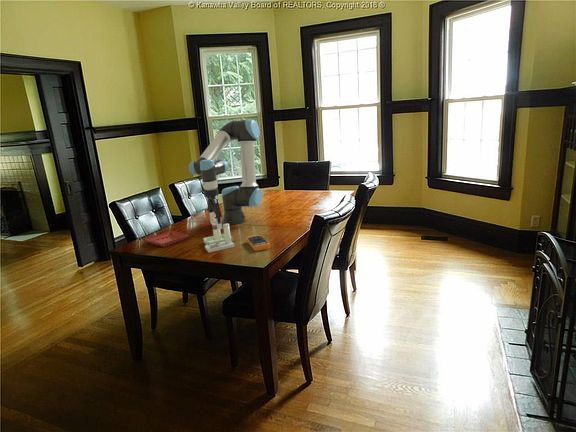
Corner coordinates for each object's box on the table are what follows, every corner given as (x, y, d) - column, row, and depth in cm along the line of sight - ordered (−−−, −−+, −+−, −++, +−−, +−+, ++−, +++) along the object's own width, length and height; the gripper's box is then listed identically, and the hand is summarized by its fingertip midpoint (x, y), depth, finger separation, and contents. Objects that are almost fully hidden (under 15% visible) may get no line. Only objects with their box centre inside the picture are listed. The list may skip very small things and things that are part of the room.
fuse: (230, 244, 204) (228, 223, 201) (232, 245, 201) (229, 224, 198) (224, 245, 203) (222, 224, 200) (226, 247, 200) (223, 225, 197)
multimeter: (261, 239, 208) (260, 233, 207) (270, 249, 192) (270, 242, 191) (246, 242, 205) (245, 236, 204) (254, 252, 189) (253, 246, 188)
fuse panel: (230, 242, 206) (229, 239, 206) (234, 246, 199) (234, 243, 199) (205, 248, 201) (204, 245, 200) (208, 252, 194) (208, 249, 193)
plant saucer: (172, 235, 231) (171, 230, 231) (189, 239, 220) (189, 234, 219) (145, 244, 218) (144, 239, 217) (163, 249, 207) (162, 243, 206)
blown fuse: (220, 239, 212) (217, 218, 209) (222, 241, 208) (219, 220, 205) (213, 240, 210) (210, 220, 207) (215, 242, 207) (212, 221, 204)
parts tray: (227, 237, 217) (227, 233, 216) (233, 241, 208) (232, 237, 207) (203, 242, 211) (203, 238, 210) (208, 247, 202) (207, 242, 202)
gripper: (198, 186, 211) (204, 222, 217) (209, 193, 189) (216, 233, 195) (211, 184, 214) (217, 219, 220) (224, 190, 192) (229, 230, 198)
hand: (216, 226), depth 207 cm, fingers open, 13 cm apart
